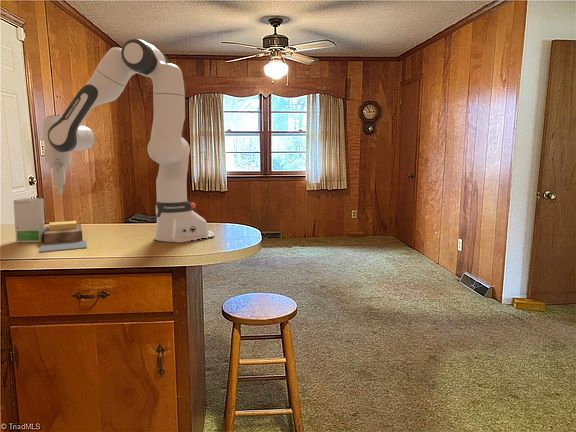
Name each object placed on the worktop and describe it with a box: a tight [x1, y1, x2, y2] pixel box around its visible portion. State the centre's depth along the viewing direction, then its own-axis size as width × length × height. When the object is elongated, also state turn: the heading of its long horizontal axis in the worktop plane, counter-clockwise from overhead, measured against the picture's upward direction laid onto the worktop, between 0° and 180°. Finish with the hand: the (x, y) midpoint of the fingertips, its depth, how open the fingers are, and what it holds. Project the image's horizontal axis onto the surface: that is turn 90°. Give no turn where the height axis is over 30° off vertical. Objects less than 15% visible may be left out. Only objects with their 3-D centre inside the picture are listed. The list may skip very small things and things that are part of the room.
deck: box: [43, 223, 84, 244], centre depth 154 cm, size 12×16×4 cm
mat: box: [39, 240, 88, 254], centre depth 142 cm, size 14×11×1 cm
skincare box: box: [13, 197, 46, 243], centre depth 150 cm, size 8×7×16 cm
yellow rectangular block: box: [48, 220, 78, 231], centre depth 154 cm, size 9×6×2 cm, turn 118°
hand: (60, 194), depth 159 cm, fingers closed
